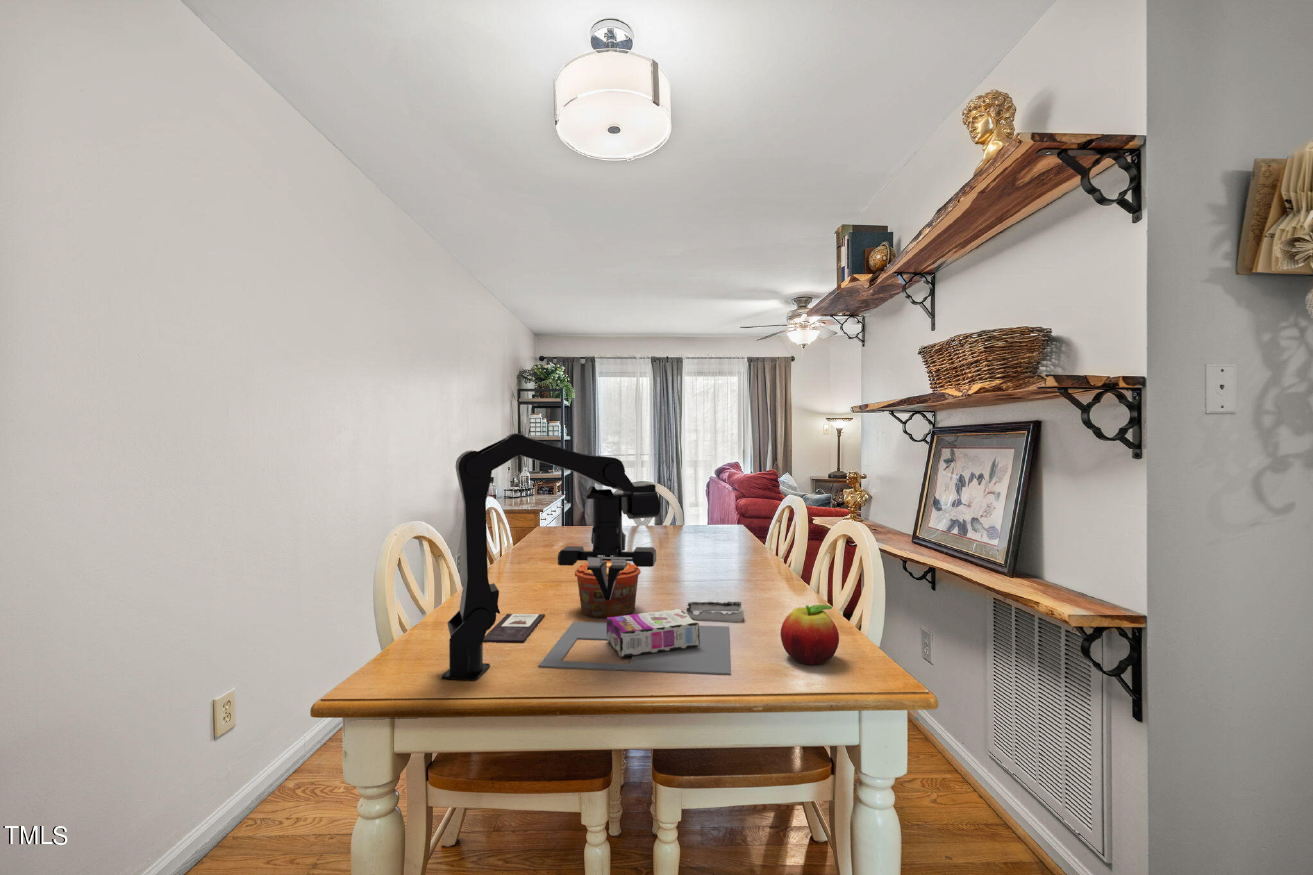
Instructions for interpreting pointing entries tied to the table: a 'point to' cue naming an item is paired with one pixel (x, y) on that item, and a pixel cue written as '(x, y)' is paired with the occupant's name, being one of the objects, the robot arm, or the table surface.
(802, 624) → the fruit
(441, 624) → the table surface
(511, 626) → the chocolate bar
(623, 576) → the food container
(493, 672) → the table surface
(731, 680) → the table surface
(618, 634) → the candy bar box
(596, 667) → the rubber mat
